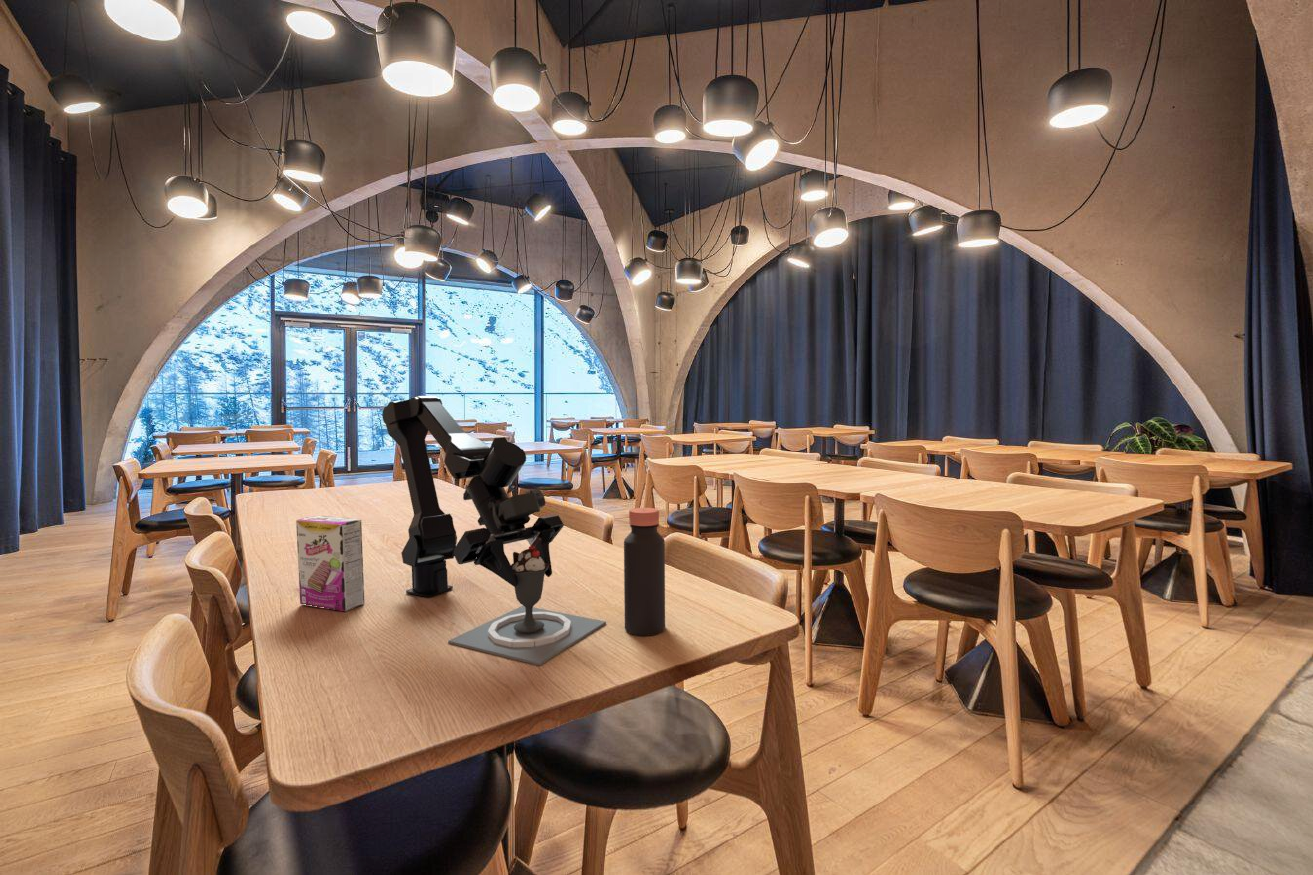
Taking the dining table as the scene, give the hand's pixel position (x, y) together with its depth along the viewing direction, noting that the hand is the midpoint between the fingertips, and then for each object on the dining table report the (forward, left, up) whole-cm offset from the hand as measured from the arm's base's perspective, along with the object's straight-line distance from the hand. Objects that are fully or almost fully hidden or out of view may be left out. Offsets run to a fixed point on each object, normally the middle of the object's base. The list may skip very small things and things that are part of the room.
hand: (533, 580), depth 97 cm
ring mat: (-1, 0, -9) cm, 9 cm away
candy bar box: (-43, -6, -9) cm, 45 cm away
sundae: (-1, 0, -8) cm, 8 cm away
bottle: (+15, +10, -9) cm, 20 cm away
